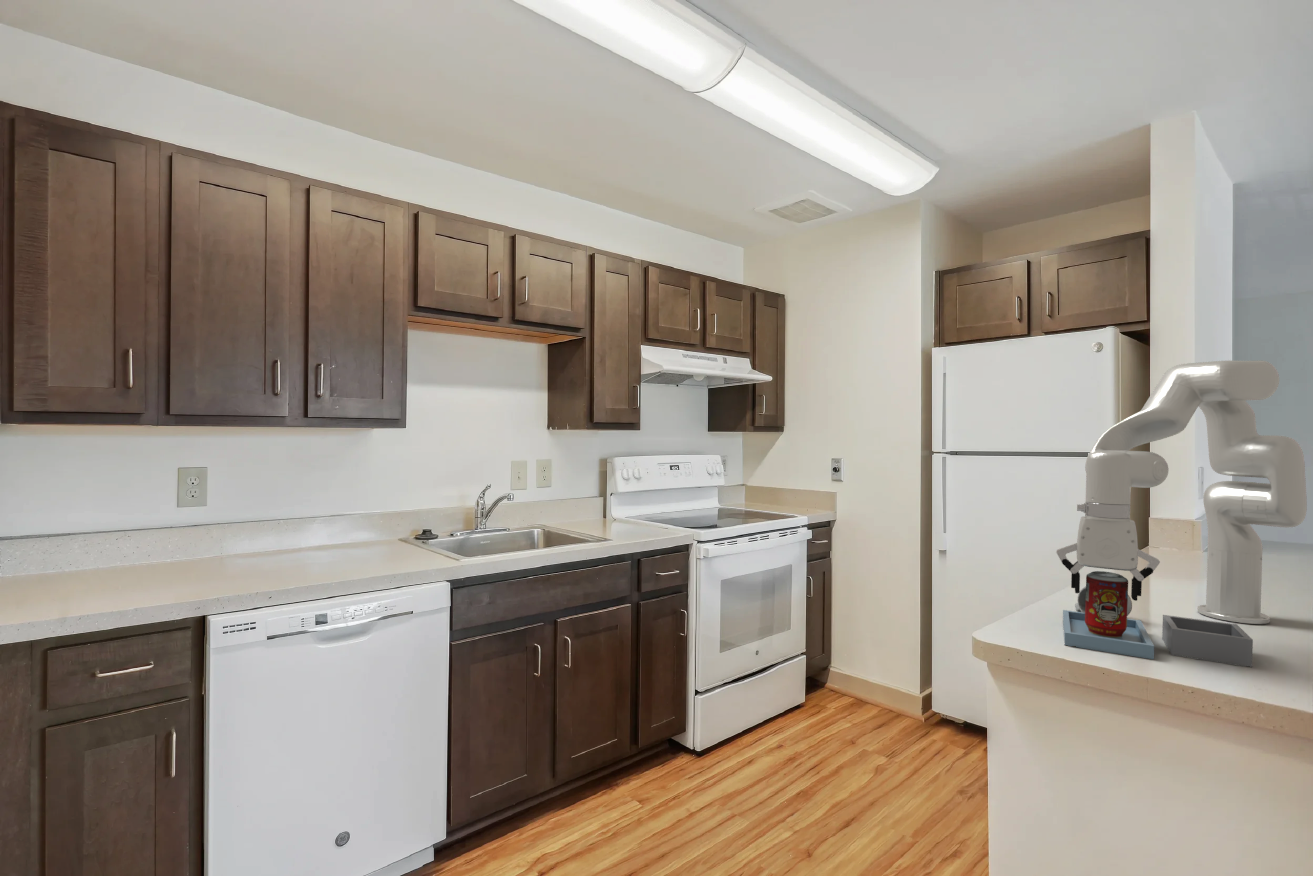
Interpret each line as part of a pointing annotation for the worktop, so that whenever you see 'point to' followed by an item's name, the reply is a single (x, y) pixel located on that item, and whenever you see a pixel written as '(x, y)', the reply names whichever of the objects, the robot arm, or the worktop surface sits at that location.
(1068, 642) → the tray
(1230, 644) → the can holder
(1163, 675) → the worktop surface
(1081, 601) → the ceramic mug
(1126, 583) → the soda can
